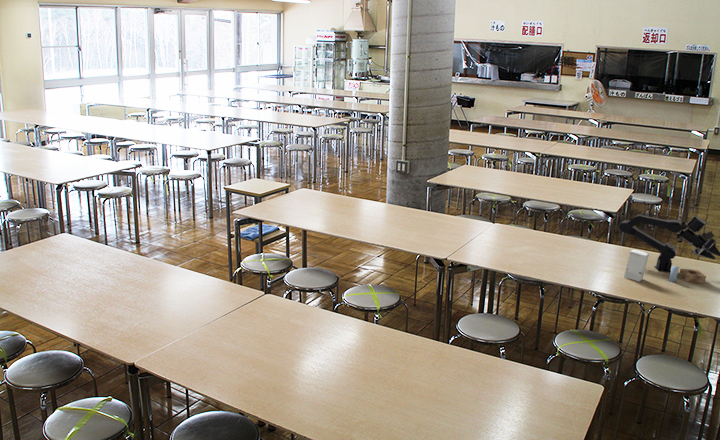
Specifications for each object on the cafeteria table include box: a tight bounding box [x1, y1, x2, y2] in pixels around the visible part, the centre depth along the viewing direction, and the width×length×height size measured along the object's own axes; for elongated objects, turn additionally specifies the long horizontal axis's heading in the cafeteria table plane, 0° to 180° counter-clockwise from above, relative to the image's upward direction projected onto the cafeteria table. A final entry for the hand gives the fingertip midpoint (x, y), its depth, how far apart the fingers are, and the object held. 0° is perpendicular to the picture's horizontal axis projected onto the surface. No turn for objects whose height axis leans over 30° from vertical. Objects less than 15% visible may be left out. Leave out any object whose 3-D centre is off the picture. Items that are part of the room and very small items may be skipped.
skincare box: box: [623, 249, 650, 282], centre depth 308 cm, size 8×6×15 cm
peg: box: [668, 265, 680, 283], centre depth 309 cm, size 3×3×8 cm
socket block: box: [678, 268, 707, 284], centre depth 313 cm, size 9×9×4 cm
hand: (718, 257), depth 309 cm, fingers open, 9 cm apart
